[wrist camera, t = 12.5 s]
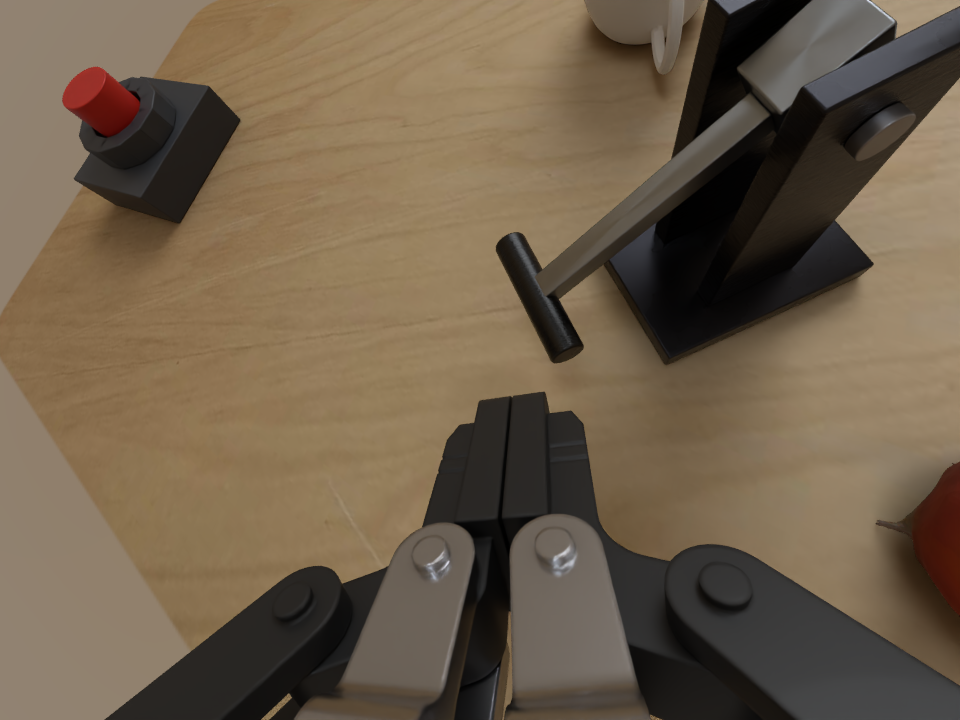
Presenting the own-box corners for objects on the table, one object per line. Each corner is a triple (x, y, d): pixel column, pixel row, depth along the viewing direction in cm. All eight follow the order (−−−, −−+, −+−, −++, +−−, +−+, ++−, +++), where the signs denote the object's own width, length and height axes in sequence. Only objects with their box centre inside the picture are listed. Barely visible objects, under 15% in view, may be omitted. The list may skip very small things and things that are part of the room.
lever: (569, 364, 19) (539, 363, 17) (514, 258, 21) (482, 247, 19) (943, 116, 12) (959, 68, 10) (801, -7, 14) (793, -65, 12)
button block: (179, 223, 34) (113, 180, 29) (115, 204, 36) (45, 162, 32) (240, 119, 36) (188, 63, 31) (175, 108, 38) (117, 55, 34)
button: (123, 141, 31) (84, 111, 28) (92, 134, 32) (52, 105, 30) (149, 100, 31) (114, 68, 29) (118, 95, 33) (81, 64, 30)
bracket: (665, 365, 22) (750, 213, 10) (591, 245, 25) (590, 16, 13) (860, 276, 21) (1209, -9, 9) (760, 161, 24) (925, -170, 12)
